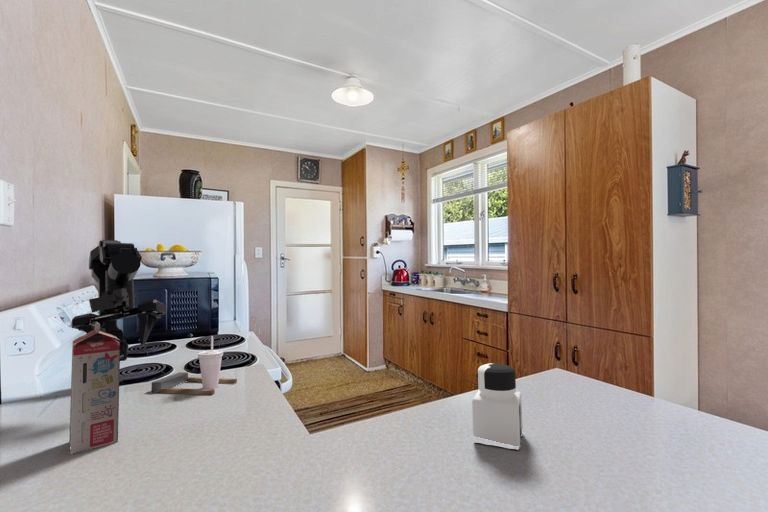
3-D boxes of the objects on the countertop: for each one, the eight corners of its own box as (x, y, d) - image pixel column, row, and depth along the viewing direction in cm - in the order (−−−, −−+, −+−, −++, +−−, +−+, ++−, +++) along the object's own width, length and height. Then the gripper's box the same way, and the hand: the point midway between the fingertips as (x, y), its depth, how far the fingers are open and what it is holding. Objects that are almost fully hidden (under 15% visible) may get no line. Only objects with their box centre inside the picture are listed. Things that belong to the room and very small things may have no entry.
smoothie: (227, 384, 101) (228, 334, 102) (214, 391, 95) (215, 338, 95) (206, 384, 102) (206, 334, 102) (192, 391, 95) (192, 338, 96)
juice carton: (113, 431, 71) (116, 319, 72) (117, 442, 66) (120, 322, 67) (69, 441, 66) (73, 323, 68) (70, 454, 61) (74, 326, 63)
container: (523, 433, 66) (520, 362, 67) (519, 452, 59) (516, 373, 60) (480, 426, 70) (478, 359, 70) (473, 443, 63) (470, 368, 63)
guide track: (149, 392, 95) (150, 382, 95) (180, 380, 106) (180, 371, 106) (211, 394, 92) (212, 385, 92) (236, 382, 103) (236, 373, 103)
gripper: (54, 288, 81) (52, 357, 76) (142, 271, 84) (146, 335, 80) (87, 299, 91) (87, 360, 87) (165, 283, 95) (169, 341, 90)
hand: (121, 349), depth 85 cm, fingers open, 9 cm apart
